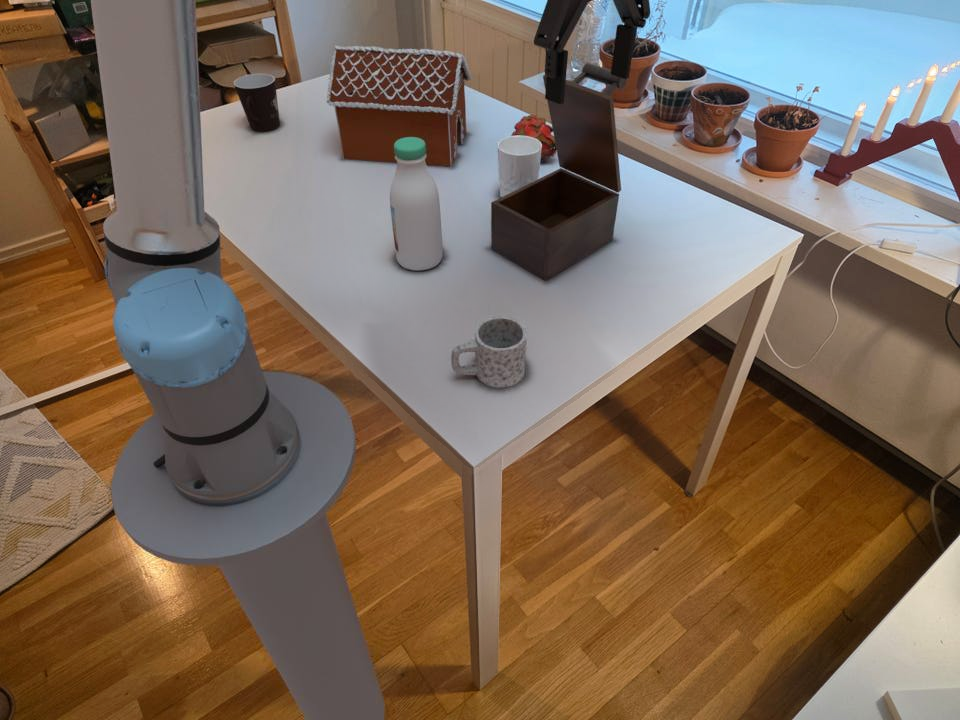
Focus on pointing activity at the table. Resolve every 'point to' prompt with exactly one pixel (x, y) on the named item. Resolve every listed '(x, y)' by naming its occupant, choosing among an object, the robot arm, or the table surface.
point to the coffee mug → (259, 101)
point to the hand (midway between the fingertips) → (588, 88)
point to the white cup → (518, 162)
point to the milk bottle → (415, 208)
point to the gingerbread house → (398, 101)
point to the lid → (588, 128)
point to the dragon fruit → (537, 133)
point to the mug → (495, 352)
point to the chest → (553, 222)
